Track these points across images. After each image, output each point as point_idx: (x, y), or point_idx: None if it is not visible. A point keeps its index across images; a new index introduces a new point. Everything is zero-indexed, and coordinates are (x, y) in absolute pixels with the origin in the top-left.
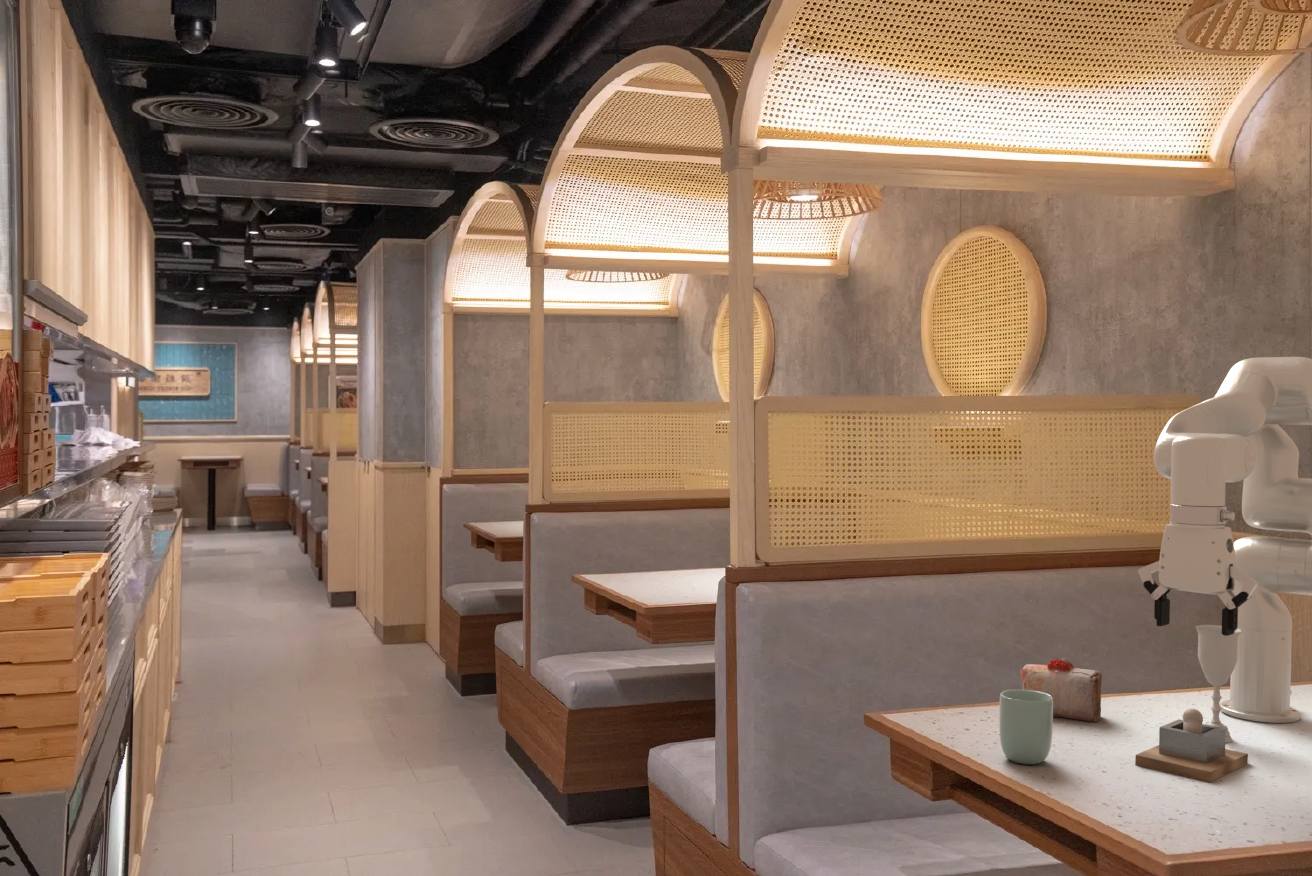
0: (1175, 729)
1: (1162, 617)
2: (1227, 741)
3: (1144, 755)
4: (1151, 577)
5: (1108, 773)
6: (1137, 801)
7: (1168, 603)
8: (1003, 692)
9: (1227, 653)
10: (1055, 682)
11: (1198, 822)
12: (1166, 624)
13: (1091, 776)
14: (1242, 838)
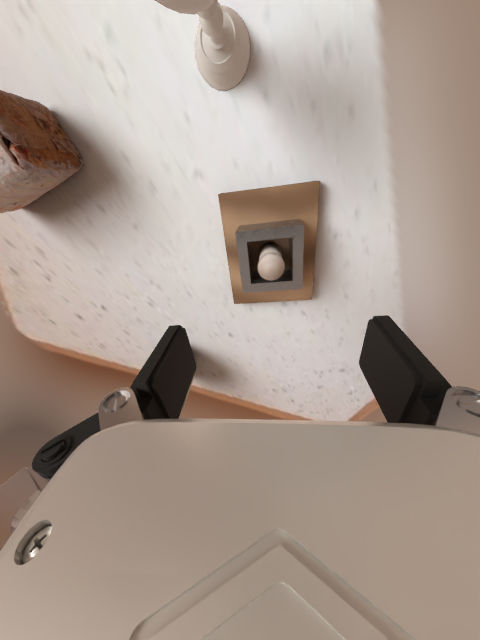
0: (260, 287)
1: (189, 379)
2: (247, 60)
3: (240, 298)
4: (37, 496)
5: (236, 336)
6: (287, 374)
7: (162, 380)
8: None
9: None
10: (2, 199)
11: (336, 382)
12: (188, 341)
13: (233, 351)
14: (369, 388)
